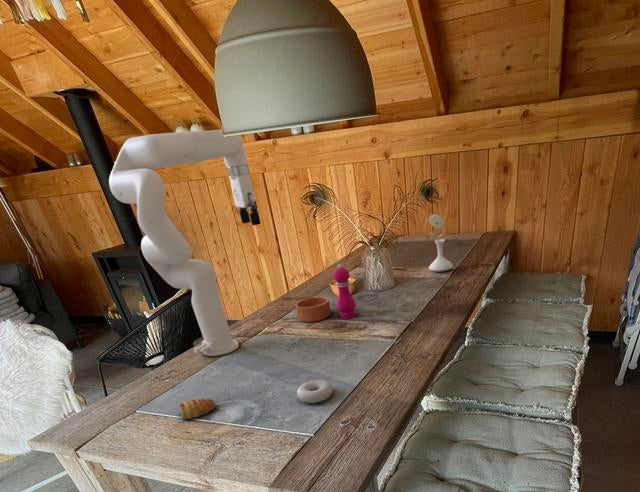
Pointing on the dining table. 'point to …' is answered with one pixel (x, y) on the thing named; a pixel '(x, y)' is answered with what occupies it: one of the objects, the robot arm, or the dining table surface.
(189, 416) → the pastry
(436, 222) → the flower in vase
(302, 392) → the donut
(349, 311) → the pepper mill
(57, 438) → the dining table surface
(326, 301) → the bowl
